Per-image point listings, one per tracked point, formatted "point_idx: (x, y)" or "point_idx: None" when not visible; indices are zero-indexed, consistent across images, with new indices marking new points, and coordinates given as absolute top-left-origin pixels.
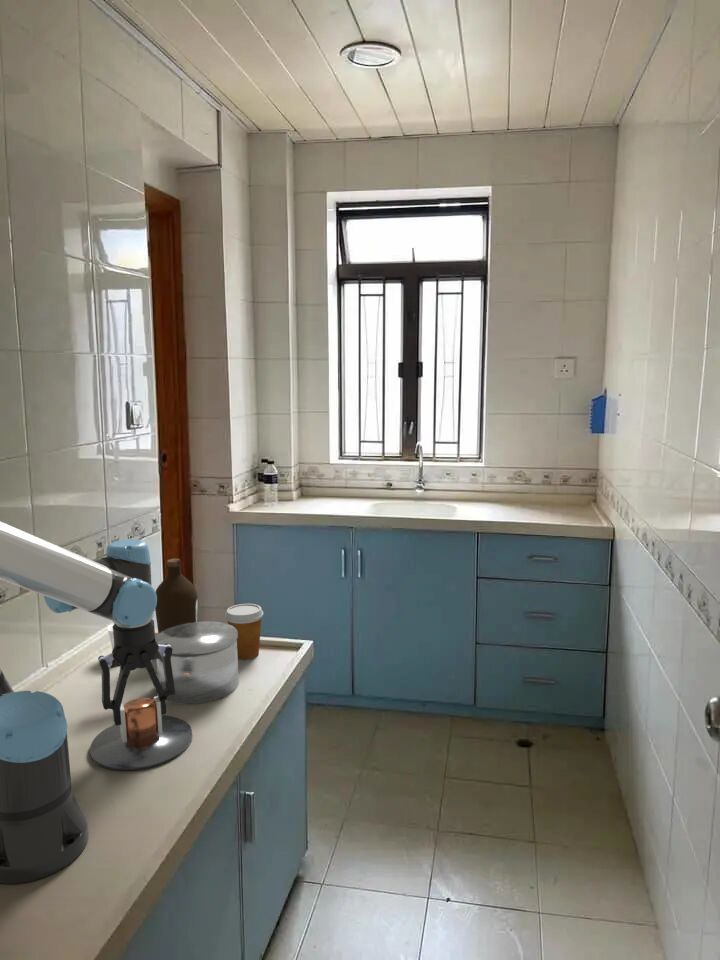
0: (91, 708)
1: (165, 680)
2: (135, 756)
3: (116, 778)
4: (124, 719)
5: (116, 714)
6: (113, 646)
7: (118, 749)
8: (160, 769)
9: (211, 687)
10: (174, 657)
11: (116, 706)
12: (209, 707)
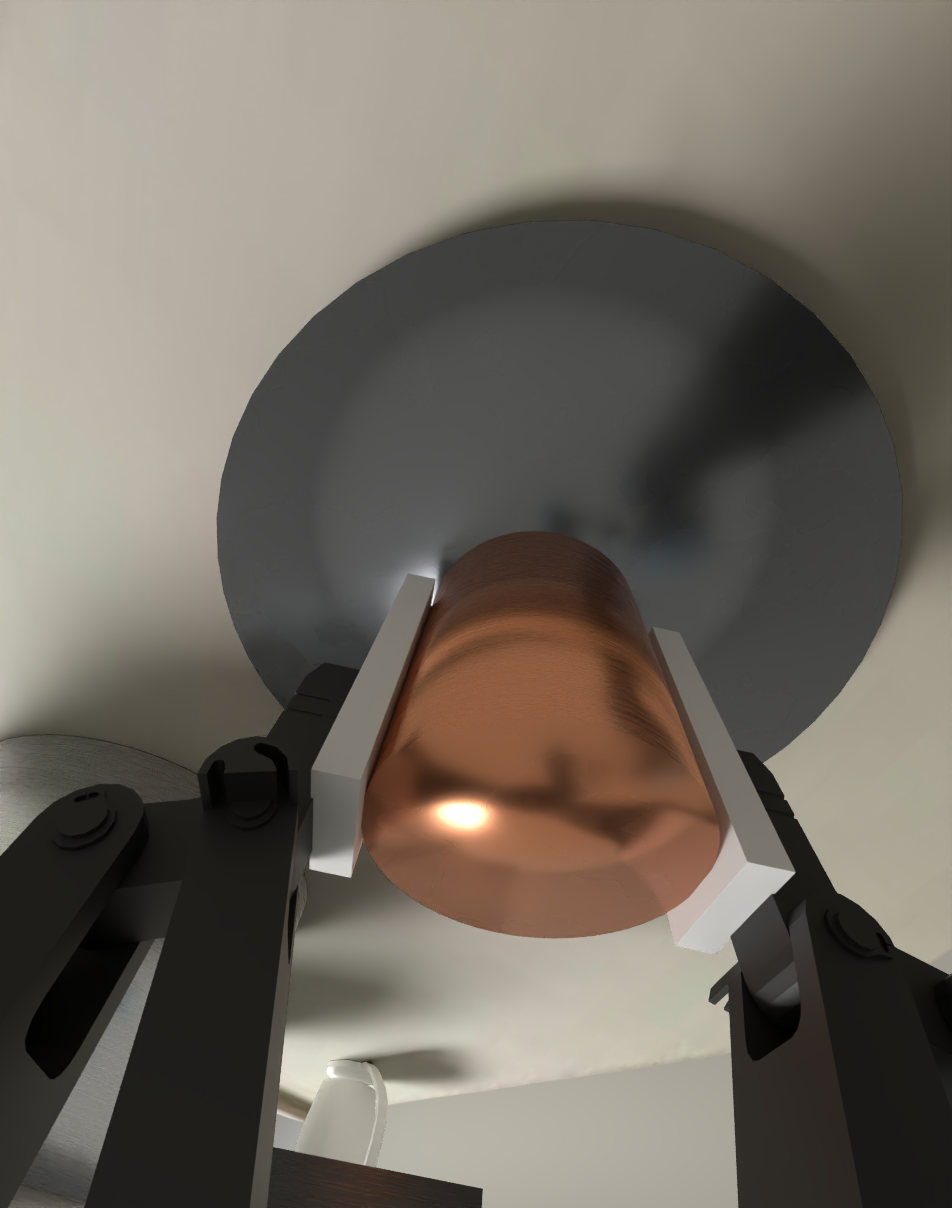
0: (568, 950)
1: (69, 1080)
2: (688, 436)
3: (937, 275)
4: (712, 762)
5: (789, 849)
6: (374, 1159)
7: (713, 604)
8: (600, 139)
9: (21, 801)
10: (53, 1153)
11: (874, 956)
12: (106, 700)
